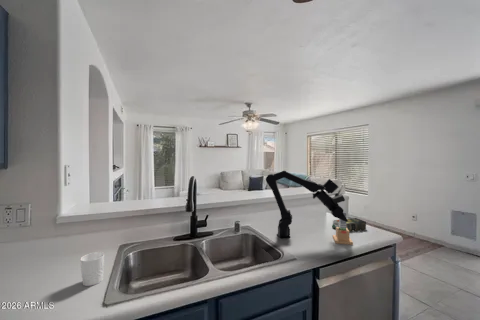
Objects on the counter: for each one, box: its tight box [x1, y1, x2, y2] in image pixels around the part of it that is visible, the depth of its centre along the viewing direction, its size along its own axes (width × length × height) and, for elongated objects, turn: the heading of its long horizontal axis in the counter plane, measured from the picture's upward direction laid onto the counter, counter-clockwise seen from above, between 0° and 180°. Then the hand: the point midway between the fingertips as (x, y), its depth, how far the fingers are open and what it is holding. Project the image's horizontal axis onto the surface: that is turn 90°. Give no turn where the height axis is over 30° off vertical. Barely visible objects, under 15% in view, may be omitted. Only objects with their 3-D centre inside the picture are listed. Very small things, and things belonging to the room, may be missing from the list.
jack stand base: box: [332, 227, 354, 246], centre depth 128 cm, size 9×9×7 cm
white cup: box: [80, 251, 105, 287], centre depth 87 cm, size 8×8×10 cm
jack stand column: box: [338, 211, 347, 230], centre depth 128 cm, size 3×3×12 cm
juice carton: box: [331, 217, 367, 232], centre depth 149 cm, size 20×10×6 cm, turn 104°
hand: (345, 218), depth 127 cm, fingers open, 9 cm apart
